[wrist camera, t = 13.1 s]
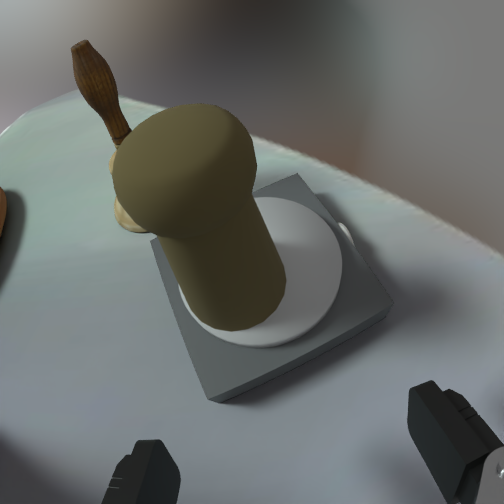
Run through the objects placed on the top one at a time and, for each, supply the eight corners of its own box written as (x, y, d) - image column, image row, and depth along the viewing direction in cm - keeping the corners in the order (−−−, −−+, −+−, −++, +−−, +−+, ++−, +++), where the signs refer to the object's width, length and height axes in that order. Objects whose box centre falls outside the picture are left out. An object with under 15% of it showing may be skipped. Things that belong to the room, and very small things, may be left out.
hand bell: (138, 164, 32) (72, 34, 18) (209, 165, 30) (155, 7, 16) (101, 228, 28) (2, 94, 15) (177, 238, 26) (80, 64, 12)
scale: (218, 403, 19) (202, 397, 16) (162, 258, 25) (144, 233, 22) (390, 314, 20) (403, 292, 17) (303, 192, 26) (301, 161, 23)
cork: (308, 290, 18) (302, 127, 9) (217, 352, 17) (111, 240, 8) (249, 222, 21) (206, 68, 12) (169, 273, 20) (75, 140, 11)
